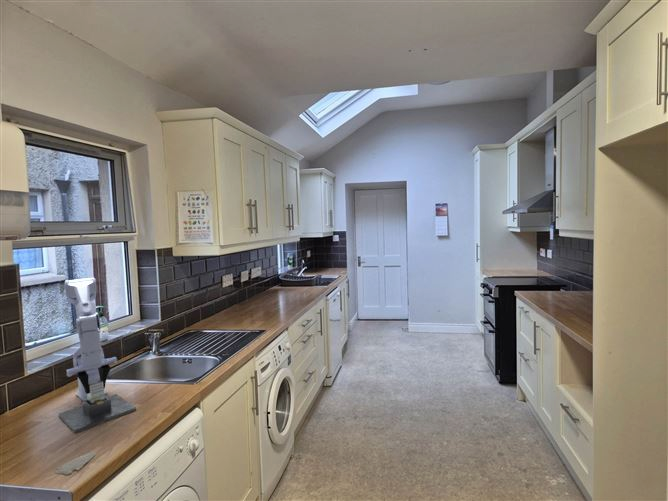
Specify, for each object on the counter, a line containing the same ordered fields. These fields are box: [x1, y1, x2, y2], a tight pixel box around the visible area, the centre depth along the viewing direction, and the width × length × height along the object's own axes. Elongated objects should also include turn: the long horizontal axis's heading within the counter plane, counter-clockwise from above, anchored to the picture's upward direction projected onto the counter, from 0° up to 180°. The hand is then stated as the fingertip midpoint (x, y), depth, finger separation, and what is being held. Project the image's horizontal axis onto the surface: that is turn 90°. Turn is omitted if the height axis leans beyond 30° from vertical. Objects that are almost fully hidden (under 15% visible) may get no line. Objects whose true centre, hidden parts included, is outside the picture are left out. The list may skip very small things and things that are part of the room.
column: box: [87, 378, 106, 405], centre depth 132 cm, size 4×4×7 cm
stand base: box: [58, 394, 137, 434], centre depth 133 cm, size 18×18×5 cm
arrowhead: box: [54, 451, 97, 476], centre depth 105 cm, size 7×2×10 cm
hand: (95, 390), depth 132 cm, fingers closed on column, 4 cm apart
